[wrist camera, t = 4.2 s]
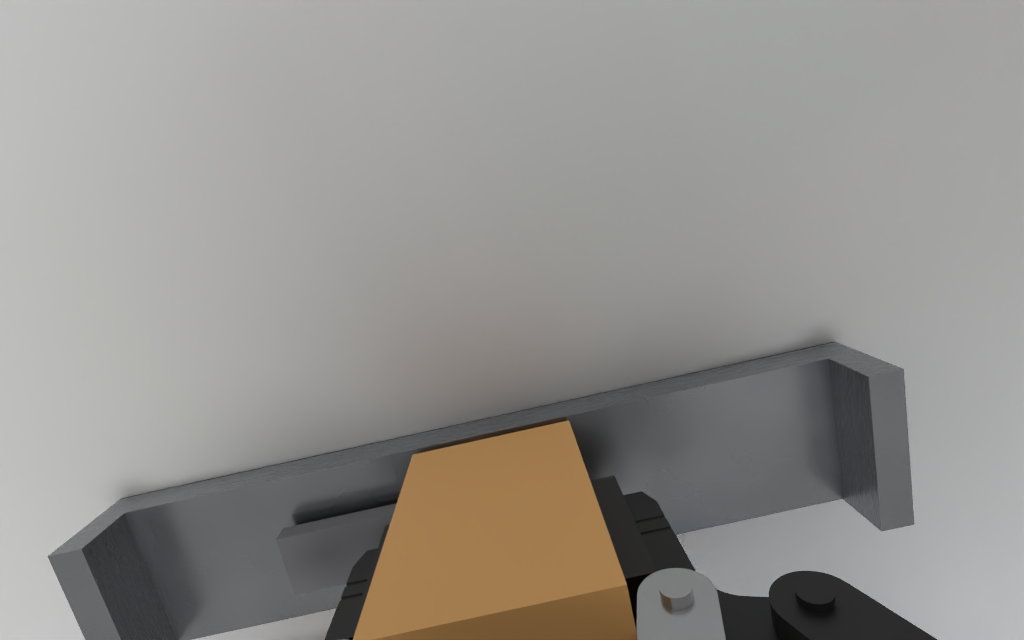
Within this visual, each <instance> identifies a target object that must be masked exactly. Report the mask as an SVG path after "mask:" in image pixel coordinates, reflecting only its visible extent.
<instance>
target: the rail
mask: <svg viewBox="0 0 1024 640" xmlns="http://www.w3.org/2000/svg"><path fill="white" fill-rule="evenodd" d="M568 420H569V422H570V425H571V428H572V430H573V433H574V436H575V439H576V442H577V445H578V447H579V450H580V453H581V456H582V459H583V462H584V464H585V467H586V470H587V473H588V476H589V479H590V480H593V479H598V478H602V477H607V476H611V475H614V476H615V478H616V480H617V482H618V484H619V487H620V489H621V491H622V493H623V495H626V494H631V493H635V492H640V491H642V492H644V493H645V494H647V495H648V496H650V497H651V498H653V499H654V500H656V501H657V502H658V504H659V506H660V508H661V510H662V511H663V513H664V515H665V518H666V519H667V520H668V522H669V524H670V526H671V529H673V531H674V533H675V535H676V534H681V533H686V532H690V531H695V530H700V529H704V528H709V527H713V526H718V525H723V524H727V523H732V522H737V521H741V520H746V519H750V518H755V517H760V516H764V515H769V514H774V513H778V512H783V511H787V510H792V509H797V508H801V507H806V506H811V505H815V504H820V503H824V502H829V501H834V500H838V499H844V500H845V501H846V502H847V503H848V504H850V505H851V506H852V507H853V508H854V509H855V510H857V511H858V512H859V513H860V514H861V515H863V516H864V517H865V518H866V519H867V520H869V521H870V522H871V523H872V524H873V525H875V526H876V527H877V528H878V529H879V530H881V531H885V530H890V529H895V528H899V527H904V526H909V525H913V524H914V515H913V500H912V485H911V471H910V456H909V442H908V427H907V413H906V398H905V384H904V369H902V368H899V367H897V366H894V365H892V364H889V363H887V362H884V361H882V360H879V359H877V358H874V357H872V356H869V355H867V354H864V353H862V352H859V351H857V350H854V349H852V348H849V347H847V346H844V345H842V344H839V343H837V342H833V343H828V344H824V345H819V346H815V347H810V348H806V349H801V350H796V351H792V352H787V353H783V354H778V355H774V356H769V357H765V358H760V359H756V360H751V361H746V362H742V363H737V364H733V365H728V366H724V367H719V368H715V369H710V370H705V371H701V372H696V373H692V374H687V375H683V376H678V377H674V378H669V379H665V380H660V381H655V382H651V383H646V384H642V385H637V386H633V387H628V388H624V389H619V390H614V391H610V392H605V393H601V394H596V395H592V396H587V397H583V398H578V399H574V400H569V401H564V402H560V403H555V404H551V405H546V406H542V407H537V408H533V409H528V410H524V411H519V412H514V413H510V414H505V415H501V416H496V417H492V418H487V419H483V420H478V421H473V422H469V423H464V424H460V425H455V426H451V427H446V428H442V429H437V430H433V431H428V432H423V433H419V434H414V435H410V436H405V437H401V438H396V439H392V440H387V441H382V442H378V443H373V444H369V445H364V446H360V447H355V448H351V449H346V450H342V451H337V452H332V453H328V454H323V455H319V456H314V457H310V458H305V459H301V460H296V461H291V462H287V463H282V464H278V465H273V466H269V467H264V468H260V469H255V470H251V471H246V472H241V473H237V474H232V475H228V476H223V477H219V478H214V479H210V480H205V481H200V482H196V483H191V484H187V485H182V486H178V487H173V488H169V489H164V490H160V491H155V492H150V493H146V494H141V495H137V496H132V497H128V498H123V499H120V500H119V501H117V502H116V503H115V504H114V505H112V506H111V507H110V508H109V509H107V510H106V511H105V512H103V513H102V514H101V515H100V516H98V517H97V518H96V519H95V520H93V521H92V522H91V523H89V524H88V525H87V526H86V527H84V528H83V529H82V530H81V531H79V532H78V533H77V534H76V535H74V536H73V537H72V538H70V539H69V540H68V541H67V542H65V543H64V544H63V545H62V546H60V547H59V548H58V549H57V550H55V551H54V552H53V553H51V554H50V555H49V556H48V558H49V560H50V563H51V565H52V567H53V569H54V571H55V574H56V576H57V578H58V580H59V582H60V585H61V587H62V589H63V591H64V593H65V596H66V598H67V600H68V602H69V604H70V607H71V609H72V611H73V613H74V615H75V618H76V620H77V622H78V624H79V626H80V629H81V631H82V633H83V635H84V638H85V640H191V639H196V638H200V637H205V636H210V635H214V634H219V633H223V632H228V631H233V630H237V629H242V628H247V627H251V626H256V625H260V624H265V623H270V622H274V621H279V620H284V619H288V618H293V617H297V616H302V615H307V614H311V613H316V612H321V611H325V610H330V609H334V608H337V606H338V604H339V601H341V596H342V593H343V591H344V588H345V587H347V584H343V585H339V586H334V587H330V588H325V589H320V590H316V591H311V592H307V593H302V594H297V595H295V594H294V591H293V588H292V586H291V583H290V580H289V577H288V574H287V571H286V568H285V566H284V563H283V560H282V557H281V554H280V551H279V548H278V546H277V543H276V538H277V537H278V535H279V534H280V532H281V531H282V529H283V528H286V527H291V526H295V525H300V524H304V523H309V522H313V521H318V520H323V519H327V518H332V517H336V516H341V515H346V514H350V513H355V512H359V511H364V510H368V509H373V508H378V507H382V506H387V505H391V504H396V503H397V501H398V498H399V495H400V492H401V489H402V486H403V483H404V479H405V476H406V473H407V470H408V467H409V464H410V461H411V458H412V455H413V454H418V453H423V452H427V451H432V450H436V449H441V448H445V447H450V446H454V445H459V444H464V443H468V442H473V441H477V440H482V439H486V438H491V437H495V436H500V435H505V434H509V433H514V432H518V431H523V430H527V429H532V428H537V427H541V426H546V425H550V424H555V423H559V422H564V421H568Z"/></svg>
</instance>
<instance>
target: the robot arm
mask: <svg viewBox="0 0 1024 640" xmlns="http://www.w3.org/2000/svg"><path fill="white" fill-rule="evenodd" d="M590 481H591V484H592V487H593V490H594V493H595V496H596V498H597V501H598V504H599V507H600V510H601V513H602V515H603V518H604V521H605V524H606V527H607V530H608V532H609V535H610V538H611V541H612V544H613V547H614V549H615V552H616V555H617V558H618V561H619V564H620V566H621V569H622V572H623V575H624V578H625V580H626V583H627V587H628V592H629V597H630V602H631V607H632V612H633V617H634V622H635V627H636V632H637V637H636V640H937V639H935V638H934V637H932V636H931V635H929V634H928V633H926V632H924V631H923V630H921V629H920V628H918V627H916V626H915V625H913V624H912V623H910V622H908V621H907V620H905V619H904V618H902V617H901V616H899V615H897V614H896V613H894V612H893V611H891V610H889V609H888V608H886V607H885V606H883V605H881V604H880V603H878V602H877V601H875V600H873V599H872V598H870V597H869V596H867V595H866V594H864V593H862V592H861V591H859V590H858V589H856V588H854V587H853V586H851V585H850V584H848V583H846V582H845V581H843V580H841V579H839V578H837V577H834V576H832V575H829V574H825V573H821V572H815V571H797V572H792V573H788V574H785V575H783V576H781V577H779V578H778V579H776V580H775V581H774V582H773V584H772V585H771V587H770V590H769V597H749V596H737V595H732V594H728V593H724V592H721V591H719V590H717V589H716V588H715V586H714V584H713V583H712V582H711V581H710V580H709V579H708V578H707V577H705V576H704V575H702V574H700V573H698V572H696V571H695V569H694V567H693V566H692V564H691V562H690V560H689V558H688V556H687V555H686V553H685V551H684V549H683V547H682V546H681V544H680V542H679V540H678V538H677V537H676V535H675V533H674V531H673V529H671V526H670V524H669V522H668V520H667V519H666V518H665V515H664V513H663V511H662V510H661V508H660V506H659V504H658V502H657V501H656V500H654V499H653V498H651V497H650V496H648V495H647V494H645V493H644V492H642V491H640V492H635V493H631V494H626V495H623V493H622V491H621V489H620V487H619V484H618V482H617V480H616V478H615V476H614V475H611V476H607V477H602V478H598V479H593V480H590ZM389 526H390V524H387V525H386V526H385V529H384V532H383V535H382V538H381V541H380V544H379V547H378V548H377V549H372V550H367V551H366V552H365V553H364V555H363V556H362V557H361V558H360V559H359V560H358V561H357V563H356V564H355V565H354V566H353V568H352V570H351V573H350V575H349V578H348V580H347V583H346V584H347V587H345V588H344V591H343V593H342V596H341V601H339V604H338V606H337V609H336V611H335V614H334V617H333V619H332V622H331V624H330V627H329V630H328V632H327V635H326V637H325V640H353V637H354V634H355V631H356V628H357V625H358V622H359V619H360V616H361V612H362V609H363V606H364V603H365V600H366V597H367V594H368V591H369V588H370V585H371V582H372V578H373V575H374V572H375V569H376V566H377V563H378V560H379V557H380V554H381V551H382V548H383V544H384V541H385V538H386V535H387V532H388V529H389Z"/></svg>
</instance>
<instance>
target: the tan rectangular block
mask: <svg viewBox="0 0 1024 640" xmlns="http://www.w3.org/2000/svg"><path fill="white" fill-rule="evenodd" d="M387 524H390V526H389V529H388V532H387V535H386V538H385V541H384V544H383V548H382V551H381V554H380V557H379V560H378V563H377V566H376V569H375V572H374V575H373V578H372V582H371V585H370V588H369V591H368V594H367V597H366V600H365V603H364V606H363V609H362V612H361V616H360V619H359V622H358V625H357V628H356V631H355V634H354V637H353V640H636V637H637V632H636V627H635V622H634V617H633V612H632V607H631V602H630V597H629V592H628V587H627V583H626V580H625V578H624V575H623V572H622V569H621V566H620V564H619V561H618V558H617V555H616V552H615V549H614V547H613V544H612V541H611V538H610V535H609V532H608V530H607V527H606V524H605V521H604V518H603V515H602V513H601V510H600V507H599V504H598V501H597V498H596V496H595V493H594V490H593V487H592V484H591V481H590V479H589V476H588V473H587V470H586V467H585V464H584V462H583V459H582V456H581V453H580V450H579V447H578V445H577V442H576V439H575V436H574V433H573V430H572V428H571V425H570V422H569V420H568V421H564V422H559V423H555V424H550V425H546V426H541V427H537V428H532V429H527V430H523V431H518V432H514V433H509V434H505V435H500V436H495V437H491V438H486V439H482V440H477V441H473V442H468V443H464V444H459V445H454V446H450V447H445V448H441V449H436V450H432V451H427V452H423V453H418V454H413V455H412V458H411V461H410V464H409V467H408V470H407V473H406V476H405V479H404V483H403V486H402V489H401V492H400V495H399V498H398V501H397V503H396V504H391V505H387V506H382V507H378V508H373V509H368V510H364V511H359V512H355V513H350V514H346V515H341V516H336V517H332V518H327V519H323V520H318V521H313V522H309V523H304V524H300V525H295V526H291V527H286V528H283V529H282V531H281V532H280V534H279V535H278V537H277V538H276V543H277V546H278V548H279V551H280V554H281V557H282V560H283V563H284V566H285V568H286V571H287V574H288V577H289V580H290V583H291V586H292V588H293V591H294V594H295V595H297V594H302V593H307V592H311V591H316V590H320V589H325V588H330V587H334V586H339V585H343V584H346V583H347V580H348V578H349V575H350V573H351V570H352V568H353V566H354V565H355V564H356V563H357V561H358V560H359V559H360V558H361V557H362V556H363V555H364V553H365V552H366V551H367V550H372V549H377V548H378V547H379V544H380V541H381V538H382V535H383V532H384V529H385V526H386V525H387Z"/></svg>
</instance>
